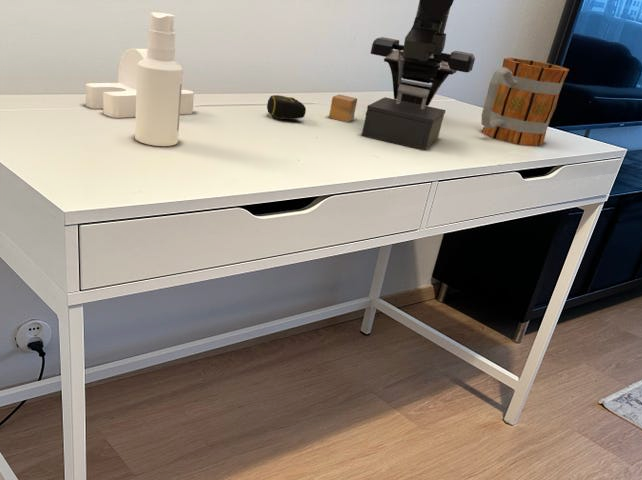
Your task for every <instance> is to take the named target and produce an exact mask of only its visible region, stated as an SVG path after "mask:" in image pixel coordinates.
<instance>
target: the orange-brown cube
mask: <svg viewBox="0 0 642 480" xmlns="http://www.w3.org/2000/svg"><path fill="white" fill-rule="evenodd" d="M357 103H358V98H357V97H353V96H349V95H344V94H336V95H334V96H332V97H331V104H330V110H329V116H328V118H329V119H331V120H336V121H341V122H346V123H349V122H351V121H352V120H354V119H355V114H356V109H357V105H358V104H357Z"/></svg>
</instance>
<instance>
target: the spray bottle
mask: <svg viewBox="0 0 642 480" xmlns="http://www.w3.org/2000/svg"><path fill="white" fill-rule="evenodd" d="M175 17H176V16H175V15H174V14H171V13H166V12H159V11H151V12H150V25H149V28H148V36H147V37H148V38H147V45H146V46H147V47H146V49H147V57H146V58H144V59H142V60H141V61H139V62H138V64H137V88H136V117H134V118H135V119H134V121H135V122H134V123H135V124H134V138H135V140H136V141H138V142H140V143H142V144H145V145H149V146H153V147H154V146H155V147H171V146H175V145H176V144H178V142H179V131H180V116H181V114H180V105H181V90H183V88H182V87H183V74H184V70H183V67H182V65H180V64H179V63H178V62H177V61H176V60H175V54H176V53H175V52H176V49H175V45H176V43H175V42H176V32H175V19H176V18H175Z"/></svg>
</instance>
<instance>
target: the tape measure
mask: <svg viewBox="0 0 642 480" xmlns="http://www.w3.org/2000/svg"><path fill="white" fill-rule="evenodd" d="M266 109H267V113H268V114H269V115H272V116H273V117H274V118H276V119H277V120H282V119H286V120H293V119H294V120H296V119H302V118H304V117H305V115H306V111H307V108H306V106H305V105H304V103H302V102H301V101H299V100H298V99H296V98H294V97H292V96H291V97H289V96H285V95H281V94H280V95H279V94H274V95H270V96H269V98H268V99H267V104H266Z"/></svg>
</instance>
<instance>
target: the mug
mask: <svg viewBox="0 0 642 480" xmlns="http://www.w3.org/2000/svg"><path fill="white" fill-rule="evenodd" d="M569 72H570V68H567V67H564V66H560V65H556V64H552V63H547V62H542V61H537V60H531V59H525V58H517V57H505V58H503V62H502V67H500V68H499V69H497V70H495V71H494V72H493V74H492V77H491V79H490V81H489V84H488V89H487V93H486V94H487V95H486V98H485V101H484V105H483V108H482V112H481V125H482V126H483V128H482V131H481V133H483V134H484V135H486V136H489V137H490V138H492V139H495V140H498V141H502V142H507V143H511V144H515V145H519V146H520V145H521V146H532V147H540V146H541V145H542V144H543V143H545V139H546V134H547V130H548V127H549V125H550V122H551V119H552V117H553V115H554V113H555V110H556V108H557V104H558V101H559V97H560V94H561V90H562V88H563V85H564V82H565V80H566V78H567V76H568V73H569Z"/></svg>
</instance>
